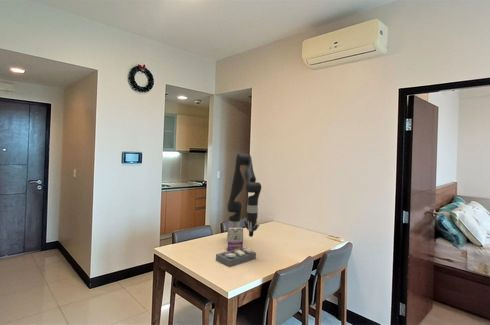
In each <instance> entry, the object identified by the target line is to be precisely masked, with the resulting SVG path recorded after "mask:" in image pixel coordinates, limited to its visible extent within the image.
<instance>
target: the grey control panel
mask: <svg viewBox="0 0 490 325" xmlns="http://www.w3.org/2000/svg"><path fill="white" fill-rule="evenodd" d="M244 248H245V247H243V248H238V249H239V250H241V251H242V252H244V253H245V255H243V256H239V255H237V254H236V253H235V252H234V251H235V250H238V249H234V250H231V251H228V250H227V251H224V252H219V253H216V254H215V261H216V262H219V263H221V264H223V265H224V266H227V267H229V268H230V267H234V266H237V265H241V264H242V263H243V264H244V263H247V262H250V261H253V260H257V252H255V251H253V252H251V253H248V252H245V251H243V249H244ZM228 253H232V254H236V256H234V257H227V256H225V254H228Z"/></svg>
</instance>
